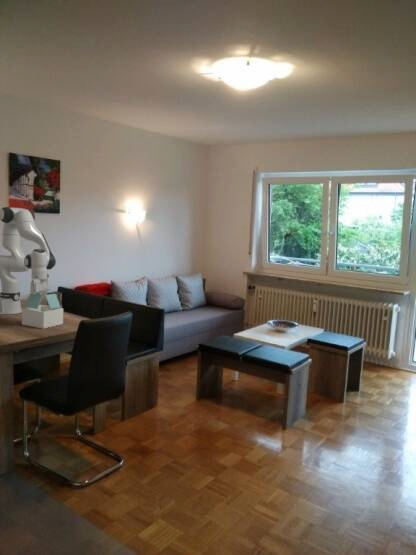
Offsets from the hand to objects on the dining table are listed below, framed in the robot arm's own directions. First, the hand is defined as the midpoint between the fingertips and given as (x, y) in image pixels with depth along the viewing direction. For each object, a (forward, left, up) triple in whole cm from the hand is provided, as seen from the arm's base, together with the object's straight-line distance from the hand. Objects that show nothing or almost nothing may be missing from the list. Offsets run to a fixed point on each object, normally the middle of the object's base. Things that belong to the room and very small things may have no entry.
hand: (39, 298), depth 273 cm
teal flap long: (0, -6, -6) cm, 8 cm away
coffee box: (-10, +23, -17) cm, 31 cm away
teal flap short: (+10, +3, -6) cm, 12 cm away
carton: (+2, +1, -16) cm, 17 cm away
